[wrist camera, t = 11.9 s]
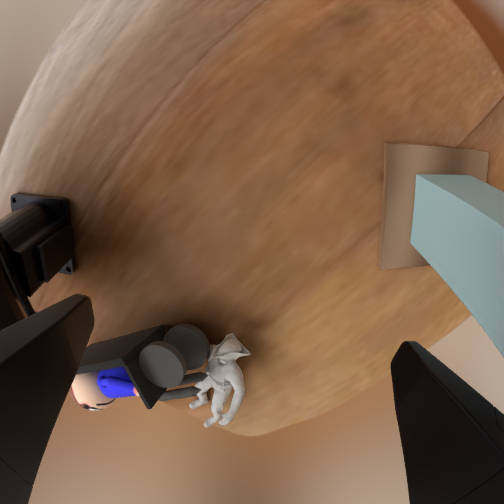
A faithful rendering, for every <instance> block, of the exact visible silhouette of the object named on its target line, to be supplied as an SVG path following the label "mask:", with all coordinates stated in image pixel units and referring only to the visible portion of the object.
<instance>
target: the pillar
mask: <svg viewBox="0 0 504 504" xmlns="http://www.w3.org/2000/svg"><path fill="white" fill-rule="evenodd" d="M410 243H411V244H412V246H413V247H414V248H415V249H416V250H417V251H418V252H419V253H420V254H421V255H422V256H423V257H424V258H425V259H426V261H427V262H428V263H429V264H430V265H431V266H432V267H433V268H434V269H435V271H436V272H437V273H438V274H439V275H440V276H441V277H442V279H443V280H444V281H445V282H446V283H447V284H448V286H449V287H450V288H451V289H452V290H453V291H454V293H455V294H456V295H457V296H458V297H459V299H460V300H461V301H462V302H463V304H464V305H465V306H466V307H467V309H468V310H469V311H470V312H471V314H472V315H473V316H474V317H475V319H476V320H477V321H478V323H479V324H480V325H481V327H482V328H483V329H484V331H485V332H486V333H487V335H488V336H489V337H490V339H491V340H492V342H493V343H494V344H495V346H496V347H497V348H498V350H499V351H500V353H501V354H502V356H503V357H504V192H503V191H501V190H499V189H497V188H495V187H493V186H491V185H489V184H487V183H485V182H483V181H481V180H479V179H477V178H475V177H473V176H471V175H441V174H416V186H415V200H414V212H413V222H412V231H411V239H410Z"/></svg>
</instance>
